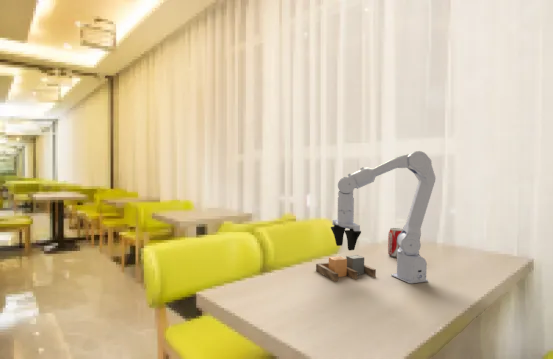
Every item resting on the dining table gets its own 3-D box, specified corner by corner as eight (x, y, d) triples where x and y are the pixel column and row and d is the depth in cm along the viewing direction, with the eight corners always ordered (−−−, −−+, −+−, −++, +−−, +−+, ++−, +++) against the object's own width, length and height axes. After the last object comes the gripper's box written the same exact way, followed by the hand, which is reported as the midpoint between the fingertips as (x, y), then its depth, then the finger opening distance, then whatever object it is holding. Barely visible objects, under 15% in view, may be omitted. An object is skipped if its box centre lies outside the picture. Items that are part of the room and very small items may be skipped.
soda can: (402, 259, 142) (402, 231, 142) (385, 256, 146) (386, 229, 146) (406, 255, 148) (407, 229, 147) (390, 253, 152) (391, 227, 152)
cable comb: (375, 276, 117) (375, 269, 117) (334, 281, 111) (335, 274, 111) (353, 266, 129) (353, 260, 129) (316, 270, 123) (316, 263, 123)
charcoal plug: (364, 274, 120) (364, 257, 120) (352, 275, 118) (352, 258, 118) (357, 270, 124) (357, 254, 124) (346, 272, 122) (346, 255, 122)
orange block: (346, 276, 118) (346, 259, 117) (334, 277, 116) (334, 260, 116) (340, 272, 121) (340, 256, 121) (328, 274, 119) (328, 257, 119)
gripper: (325, 208, 125) (325, 244, 126) (347, 213, 112) (347, 253, 112) (341, 208, 128) (341, 243, 128) (365, 212, 114) (364, 251, 115)
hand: (345, 247), depth 120 cm, fingers open, 7 cm apart
